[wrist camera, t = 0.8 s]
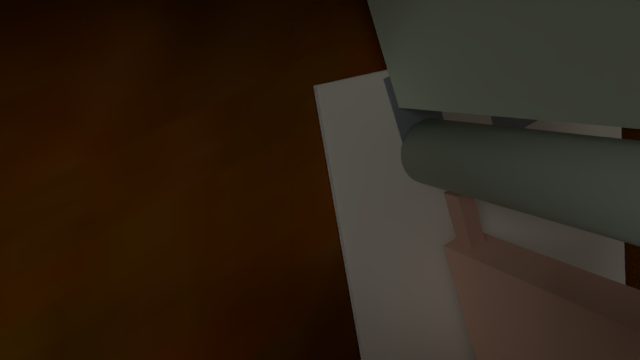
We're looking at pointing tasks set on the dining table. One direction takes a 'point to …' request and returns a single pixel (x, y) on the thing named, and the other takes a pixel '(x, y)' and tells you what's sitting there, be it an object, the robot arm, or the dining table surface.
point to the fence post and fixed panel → (522, 103)
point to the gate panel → (535, 299)
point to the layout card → (421, 223)
